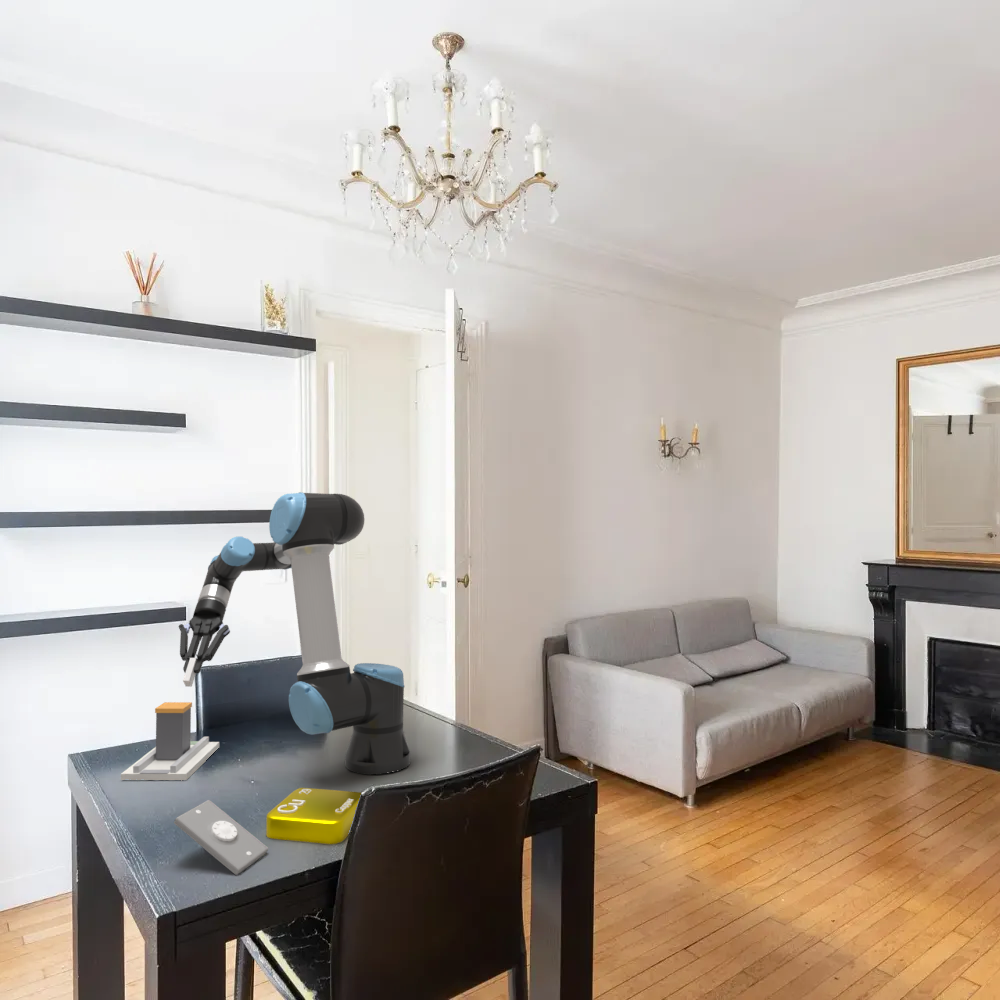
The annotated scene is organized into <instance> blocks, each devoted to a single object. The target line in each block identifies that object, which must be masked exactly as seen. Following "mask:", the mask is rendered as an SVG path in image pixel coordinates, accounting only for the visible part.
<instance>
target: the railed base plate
mask: <svg viewBox="0 0 1000 1000" xmlns="http://www.w3.org/2000/svg"><path fill="white" fill-rule="evenodd" d="M218 748H219V749H220V741H210V736H203V737H202V738H200V739H199V740H190V749H189V750H188V751H187V752H186V753H185V754H184V755H182V756H181V757H180V758H179V759H178V760H156V746H155V747H154V748H152V749H150V751H148V752H147V753H146V754H144V755H143V756H141V758H140V759H138V760H137V761H136V762H134V763H133V764H132V765H130V766H129V767H128V768H126V769H125V770H124V771H123V772H121V773H120V781H121V780H125V779H129V780H130V779H131V780H136V779H137V780H141V779H144V780H181V781H180V782H183V781H182V780H186V781H187V780H189V778H190V777H191V776H193V774H194V773H196V772H197V770H199V768H200V767H201V766H202V765H203V764H204V763H205V762H207V761H208V760H207V759H208V758H209V757H210V756H211V755H212V754H213V753H214V752H215V751H216V750H217V749H218ZM219 749H218V750H219ZM218 750H217V751H218ZM217 751H216V752H217ZM216 752H215V753H216ZM215 753H214V754H215ZM212 756H213V755H212ZM212 756H211V757H212ZM209 759H210V758H209ZM206 760H207V761H206Z"/></svg>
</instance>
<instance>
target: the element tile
mask: <svg viewBox="0 0 1000 1000" xmlns="http://www.w3.org/2000/svg"><path fill="white" fill-rule="evenodd" d="M361 793H362V792H360V791H349V790H348V791H347V790H339V789H338V790H335V789H324V788H314V787H313V788H310V787H299V788H297V789H295V790H293V791H292V792H291V793H289V794H288V795H287V796H286V797H285V798H284V799H283V800H282V801H280V802H279V803H278V804H277V805H276V806H274V808H272V809H271V810H269V811H268V813H267V814H266V819H265V820H266V821H265V823H266V825H265V827H266V834H265V836H266V837H267V838H269V839H274V840H281V841H293V842H303V843H313V844H323V845H336V844H341V843H342V842H344V841H345V840H346V838H347V837H348V836H349V835H348V833H349V830H350V827H351V824H352V821H353V817H354V814H355V810H356V807H357V804H358V801H359V798H360V795H361Z"/></svg>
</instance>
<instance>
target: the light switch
mask: <svg viewBox="0 0 1000 1000" xmlns="http://www.w3.org/2000/svg"><path fill="white" fill-rule="evenodd" d="M173 823H174V824H175V825H176V827H178V828H179V829H180V830H181V831H182V832H184V833H185V834H187V836H189V838H191V839H193V841H194V842H196V844H198V845H199V846H200V847H202V848H203V849H204V850H205V851H206V852H207V853H209V854H210V855H211V857H212V856H213V858H214V859H216V860H217V861H218V862H219V863H221V864H222V865H223V866H225V868H226V869H228V870H229V871H230V872H231V873H233V874H234V875H236V876H238V875H240V873H242V872H243V871H245V870H246V869H247V868H249V866H251V865H252V864H254V863H256V861H258V860H259V859H261V858H262V857H263V856H265V855H266V854H267V853H268V851H269V847H268V846H267V845H265V844H264V843H263V842H262V841H261V840H259V839H258V838H257V837H256V836H255V835H254V834H252V833H251V832H249V831H248V830H247V829H246V828H245V827H243V826H242V825H241V824H240V823H238V822H237V821H236V820H234V819H233V818H232V817H231V816H230V815H229V814H228V813H227V812H225V811H224V810H223V809H221V808H220V807H219V806H217V805H216V804H215V803H214V802H213V801H211V800H210V799H207V800H205V801H204V802H202V803H200V804H198V805H197V806H195V807H193V808H191V809H189V810H187V811H185V812H184V813H182V814H180V815H179V816H177V817H176V818H175V819H174V821H173Z"/></svg>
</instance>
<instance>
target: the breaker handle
mask: <svg viewBox="0 0 1000 1000" xmlns="http://www.w3.org/2000/svg"><path fill="white" fill-rule="evenodd" d="M192 707H193V702H189V701H186V702H185V701H184V702H181V701H180V702H176V701H175V702H172V701H169V702H165V701H164V702H163V703H162V704H160V705H158V706H157V707H156V708H155V707H154V713H155V717H156V718H155V719H156V720H155V721H156V722H155V747H156V760H178V759H179V758H180V757H181V756H182V755H184V754H185V753H186V752H187V751H188V750H189V749H190V741H191V731H192V730H191V723H192V722H191V721H192V720H191V719H192V713H191V711H192V710H191V709H192Z"/></svg>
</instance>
